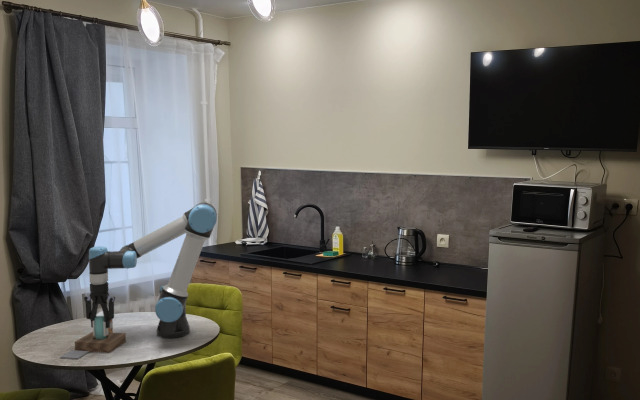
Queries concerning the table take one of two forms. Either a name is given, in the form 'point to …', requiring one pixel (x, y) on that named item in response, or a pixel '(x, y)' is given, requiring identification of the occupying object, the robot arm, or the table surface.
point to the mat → (74, 354)
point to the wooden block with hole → (100, 342)
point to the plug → (99, 327)
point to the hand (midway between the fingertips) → (100, 334)
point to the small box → (110, 322)
